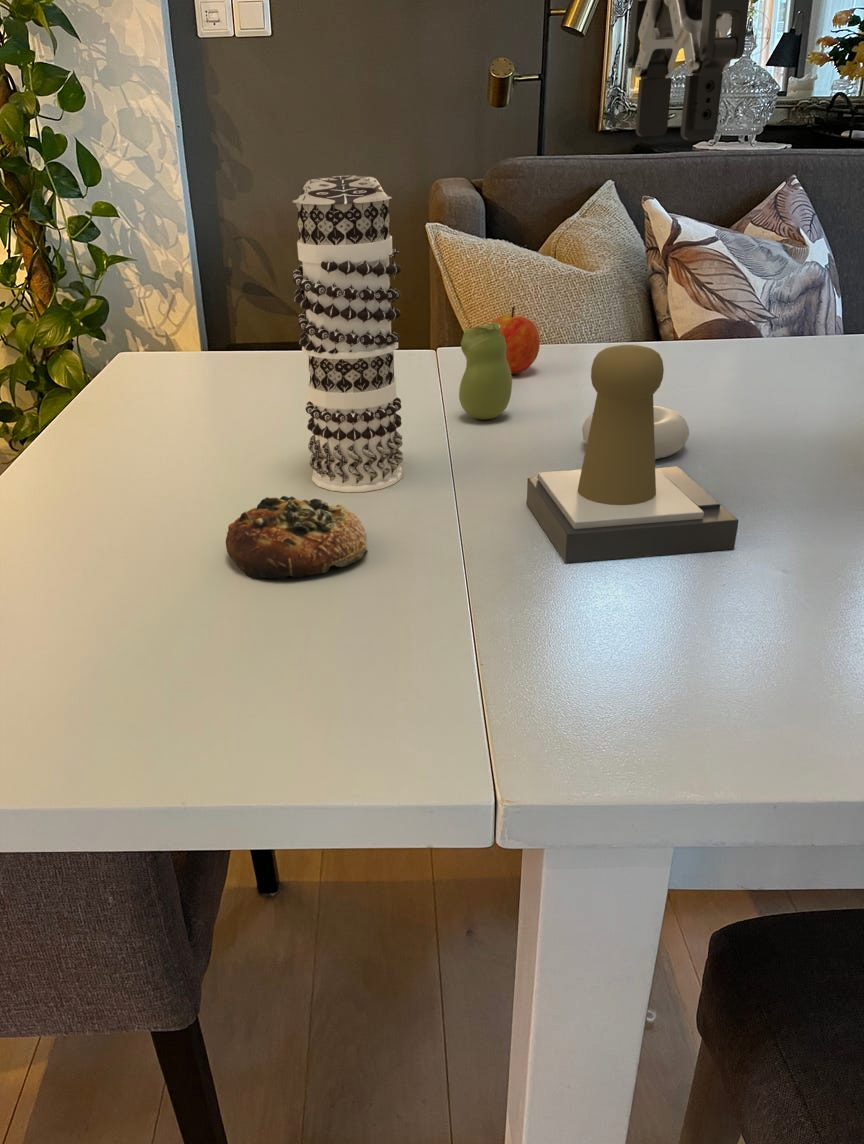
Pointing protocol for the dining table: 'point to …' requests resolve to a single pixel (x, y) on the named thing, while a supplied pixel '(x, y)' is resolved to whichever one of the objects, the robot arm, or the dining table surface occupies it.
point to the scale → (630, 519)
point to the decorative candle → (349, 332)
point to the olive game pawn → (622, 427)
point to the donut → (660, 431)
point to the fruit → (519, 341)
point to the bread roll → (294, 538)
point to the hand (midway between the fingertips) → (672, 137)
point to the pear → (485, 372)
